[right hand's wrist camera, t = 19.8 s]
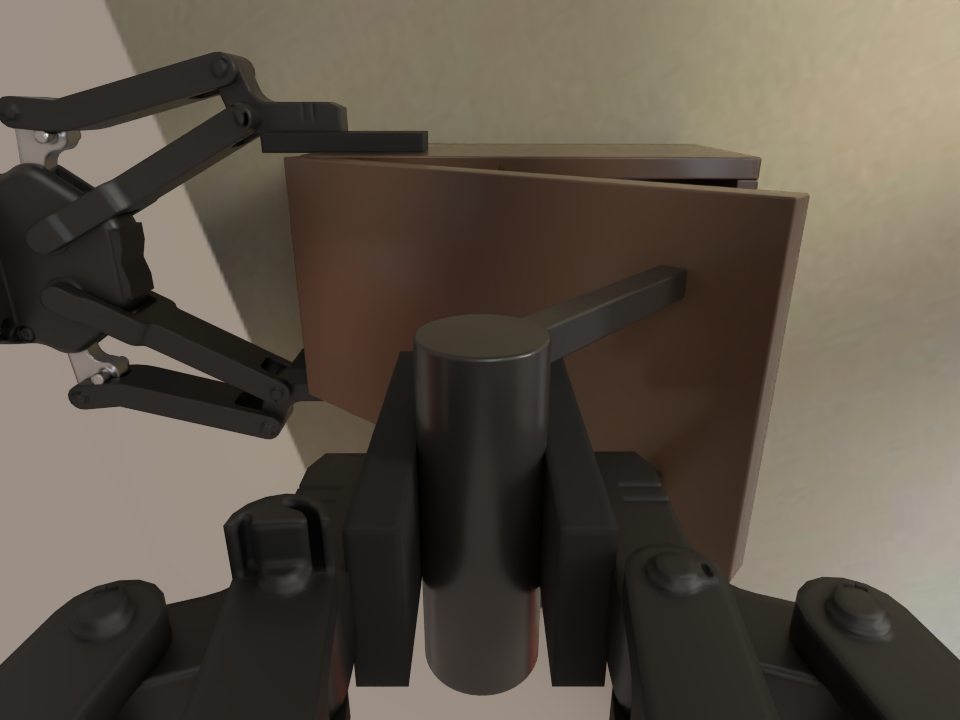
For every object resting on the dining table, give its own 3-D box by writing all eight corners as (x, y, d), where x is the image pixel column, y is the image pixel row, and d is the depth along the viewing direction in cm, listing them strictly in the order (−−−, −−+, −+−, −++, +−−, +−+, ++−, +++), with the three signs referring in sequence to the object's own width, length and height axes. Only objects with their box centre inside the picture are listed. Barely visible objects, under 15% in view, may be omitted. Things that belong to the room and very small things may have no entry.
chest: (696, 144, 32) (762, 157, 23) (675, 325, 35) (725, 396, 27) (357, 143, 33) (298, 155, 24) (369, 319, 36) (321, 385, 28)
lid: (810, 193, 13) (582, 266, 7) (742, 565, 17) (548, 835, 10) (304, 155, 24) (37, 171, 18) (326, 387, 27) (109, 468, 21)
